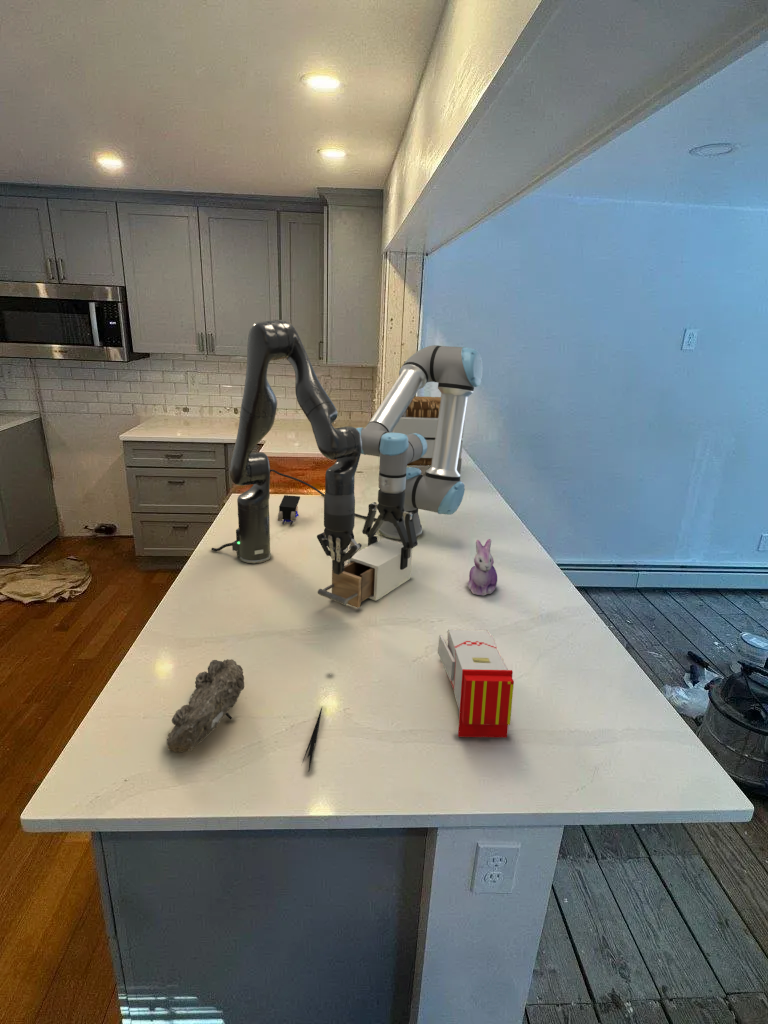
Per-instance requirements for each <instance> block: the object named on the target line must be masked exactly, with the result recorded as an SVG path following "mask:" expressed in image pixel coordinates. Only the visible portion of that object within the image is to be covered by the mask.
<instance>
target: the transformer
mask: <svg viewBox="0 0 768 1024" xmlns="http://www.w3.org/2000/svg"><path fill="white" fill-rule="evenodd" d="M440 401H441V396H416V395H415V396H414V398H413V399H412V401H411V403H410V404H409V406H408V407H407V409H406V411H405V412H404V414H403V415H402V417H401V419H400V420H399V422H398V423H397V425H396V427H395V428H394V430H393V431H392V433H402V434H405V435H408V434H411V433H412V434H414V433H417V434H420V435H422V436H423V437H424V438H425V440H426V442H427V451H426V453H425V454H424V456H422V457H421V458H420V459H418V460H416V461H413V462H411V463H409V464H407V467H410V466H411V467H417V466H418V467H431V464H432V457H433V450H434V443H435V436H436V429H437V422H438V415H439V408H440ZM464 422H465V419H464ZM464 429H465V424H464V425H463V432H462V439H463V438H464V431H465V430H464ZM462 439H461V445H460V452H459V458H458V465H457V471H458V473H459V474H460V475H461V472H462V461H463V460H462V453H463V442H464V441H463V440H462Z"/></svg>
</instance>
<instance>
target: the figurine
mask: <svg viewBox="0 0 768 1024" xmlns="http://www.w3.org/2000/svg"><path fill="white" fill-rule="evenodd" d="M491 547H492V539H491V538H488V539H487V540H486V541H485V543H484V545H483V544H482V542H481V541H480V540H479V539H476V540H475V549H476V551H475V552H476V553H475V556H474V558H473V563H474V566H472V567H471V568H470V570H469V575H468V579H469V580H468V583H467V587H468V589H469V591H471V593H472V594H473V595H476V596H486V595H490V594H493V592H494V591H496V588H497V583H498V574H497V570H496V568H495V567H494V563H495V562H494V561H495V560H494V556H493V555H492V553H491Z"/></svg>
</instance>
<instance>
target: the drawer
mask: <svg viewBox="0 0 768 1024" xmlns="http://www.w3.org/2000/svg"><path fill="white" fill-rule="evenodd" d="M374 578H375V568H372V567H369V566H366V565H363V564H360V563H357V562H354V561H353V562H351V563H349V564H348V563H347V564H344V571H343V572H342V573H341V574H339V575H338V574H335V573H333V570H331V584H330V585H327V586H326V587H325V588H319V589H318V590H317V595H319V596H321V597H324V598H327V599H329V600H331V601H334V602H337V603H339V604H341V605H344V606H346V605H349V606H352V607H355V608H357V609H359V608H360V607H361V606H362V603H363V602H364V601H365V600H367V599H369V598H368V597H370V596H372V595H373V594H374ZM330 589H331V592H330V591H329V590H330Z"/></svg>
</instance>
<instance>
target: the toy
mask: <svg viewBox="0 0 768 1024" xmlns="http://www.w3.org/2000/svg"><path fill="white" fill-rule="evenodd" d="M446 640H447V643H446V641H445V639H444V636H443V635H442V634H439V637H438V646H437V656H438V657H439V659H440V661H441V663H442V666H443V668H444V670H445V672H446V674H447V677H448V679H449V681H450V684H451V687H452V690H453V693H454V697H455V701H456V705H457V708H458V711H459V714H458V715H459V716H458V730H457V731H458V732H457V737H458V738H508V731H509V726H510V725H511V717H512V707H513V697H514V696H513V695H514V684H515V680H514V679H513V673H514V671H513V670H512V669H508V667H507V665H506V662H505V661H504V659H503V658H502V655H501V653H500V651H499V649H498V647H497V643H496V639H495V637H494V635H493V634H491V632H490V631H489V629H467V628H466V629H465V628H463V629H461V628H460V629H459V628H448V630H447V639H446Z"/></svg>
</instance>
